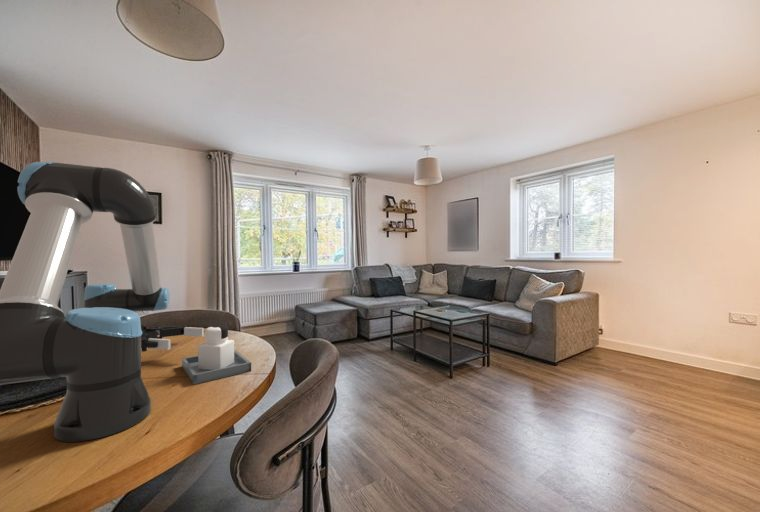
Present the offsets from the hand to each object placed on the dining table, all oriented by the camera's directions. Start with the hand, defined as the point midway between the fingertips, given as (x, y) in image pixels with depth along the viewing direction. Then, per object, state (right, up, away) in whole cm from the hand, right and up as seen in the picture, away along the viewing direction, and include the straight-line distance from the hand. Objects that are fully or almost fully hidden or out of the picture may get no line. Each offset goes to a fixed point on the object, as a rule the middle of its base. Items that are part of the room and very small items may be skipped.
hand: (187, 338), depth 96 cm
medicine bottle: (+10, -8, -1) cm, 13 cm away
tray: (+9, -9, -1) cm, 13 cm away
